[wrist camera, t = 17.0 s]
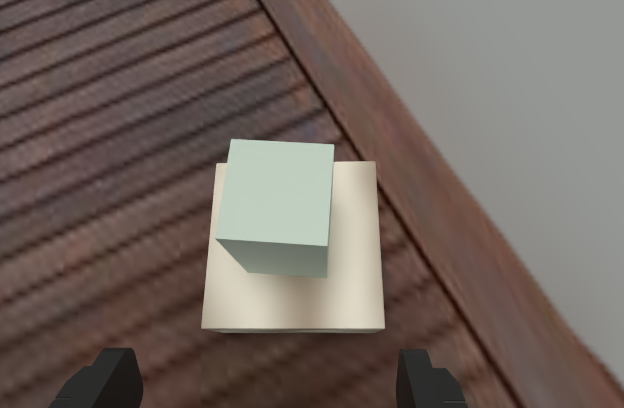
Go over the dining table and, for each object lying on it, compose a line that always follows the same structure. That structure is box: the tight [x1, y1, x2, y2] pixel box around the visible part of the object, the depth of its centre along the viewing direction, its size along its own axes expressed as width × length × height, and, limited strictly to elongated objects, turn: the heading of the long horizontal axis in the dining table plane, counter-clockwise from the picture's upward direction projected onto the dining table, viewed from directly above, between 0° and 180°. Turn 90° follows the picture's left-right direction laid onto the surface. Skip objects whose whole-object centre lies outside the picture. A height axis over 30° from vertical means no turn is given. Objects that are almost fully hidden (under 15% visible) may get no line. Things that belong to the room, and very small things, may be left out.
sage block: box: [215, 139, 334, 278], centre depth 22 cm, size 5×5×8 cm
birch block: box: [201, 161, 385, 333], centre depth 29 cm, size 11×11×6 cm
